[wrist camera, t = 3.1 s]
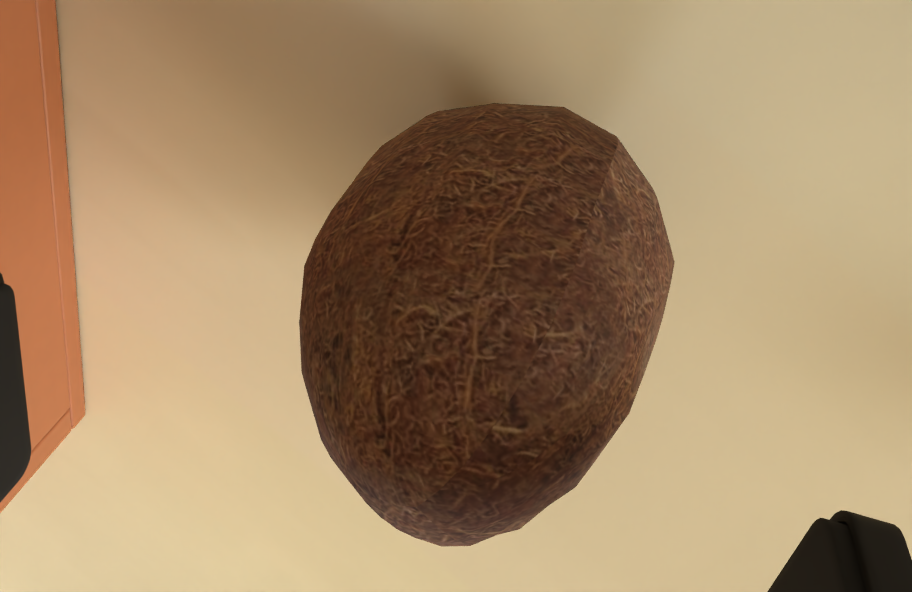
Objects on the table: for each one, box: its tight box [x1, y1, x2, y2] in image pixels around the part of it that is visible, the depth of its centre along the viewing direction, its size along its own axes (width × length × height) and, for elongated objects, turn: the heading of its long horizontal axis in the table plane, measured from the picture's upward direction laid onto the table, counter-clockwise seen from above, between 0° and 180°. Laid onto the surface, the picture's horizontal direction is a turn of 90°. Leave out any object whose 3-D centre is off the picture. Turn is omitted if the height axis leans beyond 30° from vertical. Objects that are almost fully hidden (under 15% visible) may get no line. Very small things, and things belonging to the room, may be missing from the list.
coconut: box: [299, 103, 674, 546], centre depth 12 cm, size 5×5×8 cm
